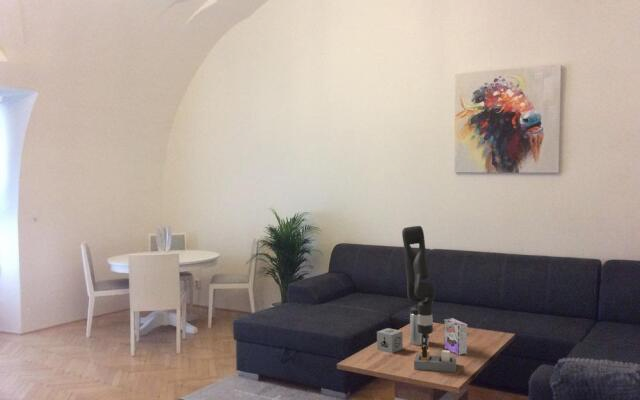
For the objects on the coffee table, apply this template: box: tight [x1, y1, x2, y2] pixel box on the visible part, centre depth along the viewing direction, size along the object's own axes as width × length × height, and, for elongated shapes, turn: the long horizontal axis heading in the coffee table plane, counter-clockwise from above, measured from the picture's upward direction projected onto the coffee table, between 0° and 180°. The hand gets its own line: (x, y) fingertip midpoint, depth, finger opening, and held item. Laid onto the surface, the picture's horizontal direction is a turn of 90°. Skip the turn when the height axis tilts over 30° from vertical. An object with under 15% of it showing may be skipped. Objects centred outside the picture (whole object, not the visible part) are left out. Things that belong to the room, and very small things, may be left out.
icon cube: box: [376, 327, 404, 354], centre depth 319 cm, size 10×10×10 cm
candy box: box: [443, 317, 468, 356], centre depth 314 cm, size 14×6×16 cm, turn 21°
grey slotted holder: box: [413, 349, 457, 373], centre depth 290 cm, size 12×20×8 cm, turn 75°
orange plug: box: [420, 348, 431, 360], centre depth 291 cm, size 4×4×7 cm
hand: (425, 354), depth 291 cm, fingers open, 8 cm apart
